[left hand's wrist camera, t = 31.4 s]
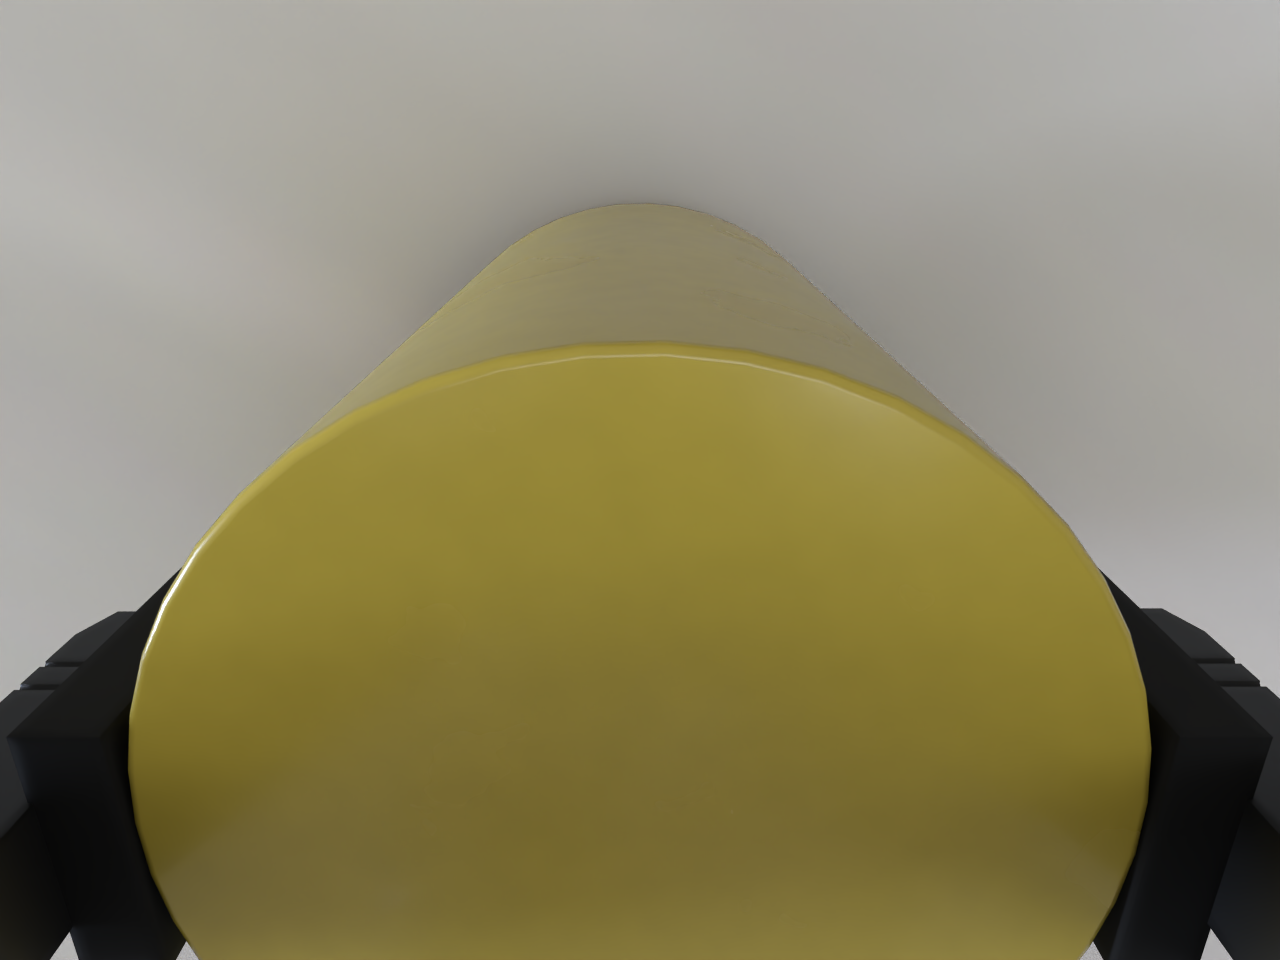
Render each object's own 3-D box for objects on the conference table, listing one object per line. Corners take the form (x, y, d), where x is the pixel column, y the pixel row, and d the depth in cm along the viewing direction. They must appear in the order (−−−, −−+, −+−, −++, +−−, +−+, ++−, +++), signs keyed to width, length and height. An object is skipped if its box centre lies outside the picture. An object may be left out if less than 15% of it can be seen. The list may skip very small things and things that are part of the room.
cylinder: (927, 319, 18) (1387, 628, 7) (730, 655, 21) (831, 1245, 10) (524, 122, 16) (295, 114, 5) (375, 512, 19) (31, 1015, 8)
